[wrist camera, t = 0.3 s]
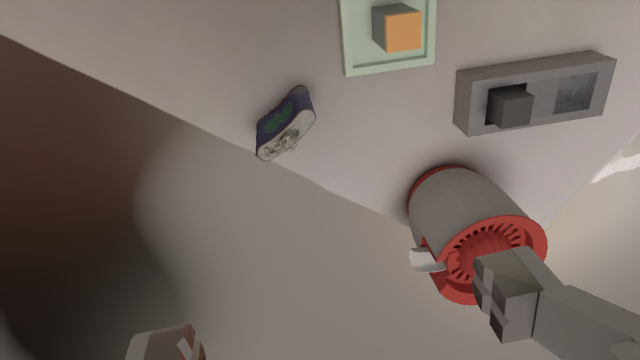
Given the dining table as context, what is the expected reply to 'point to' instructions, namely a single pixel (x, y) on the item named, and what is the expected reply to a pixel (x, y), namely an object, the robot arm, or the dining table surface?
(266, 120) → the blue box
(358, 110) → the dining table surface
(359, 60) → the tray
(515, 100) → the twin plug
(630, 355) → the robot arm
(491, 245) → the citrus juicer
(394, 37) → the plug
